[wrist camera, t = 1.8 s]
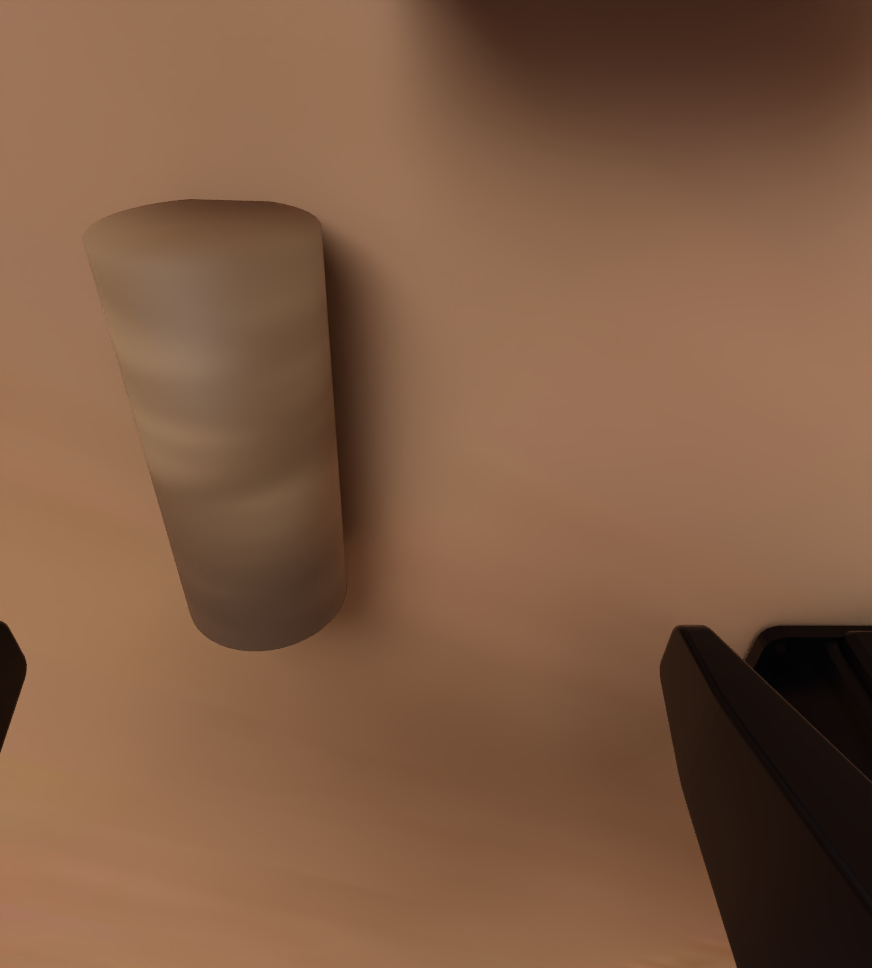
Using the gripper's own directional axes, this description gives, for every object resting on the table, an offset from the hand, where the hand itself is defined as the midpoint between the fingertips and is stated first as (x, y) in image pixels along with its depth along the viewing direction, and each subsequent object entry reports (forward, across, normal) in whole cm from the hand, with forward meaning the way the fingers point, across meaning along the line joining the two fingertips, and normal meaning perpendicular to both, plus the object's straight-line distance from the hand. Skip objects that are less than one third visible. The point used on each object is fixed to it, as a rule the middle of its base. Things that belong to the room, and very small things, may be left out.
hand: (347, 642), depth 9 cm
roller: (+5, +1, 0) cm, 5 cm away
